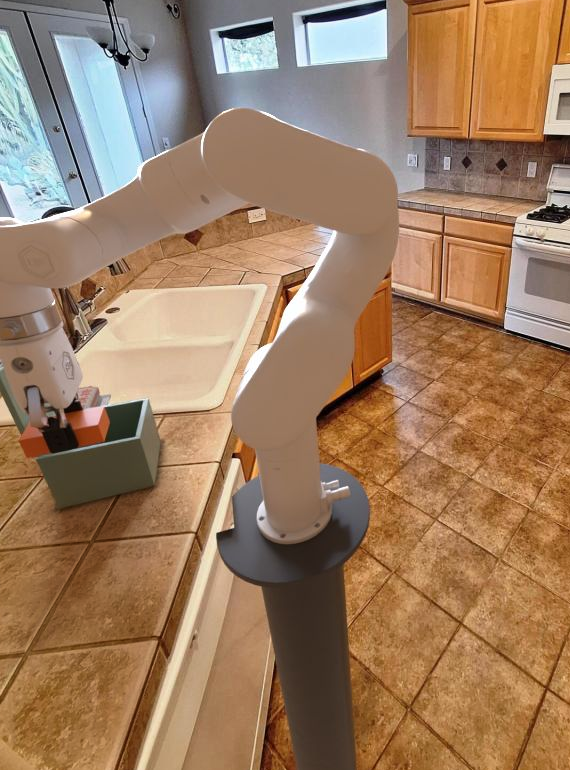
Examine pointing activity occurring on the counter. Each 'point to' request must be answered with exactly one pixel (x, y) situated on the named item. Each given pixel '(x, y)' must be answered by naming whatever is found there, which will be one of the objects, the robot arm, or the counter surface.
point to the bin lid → (15, 403)
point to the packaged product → (92, 397)
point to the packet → (85, 424)
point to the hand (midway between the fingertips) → (70, 436)
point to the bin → (107, 458)
